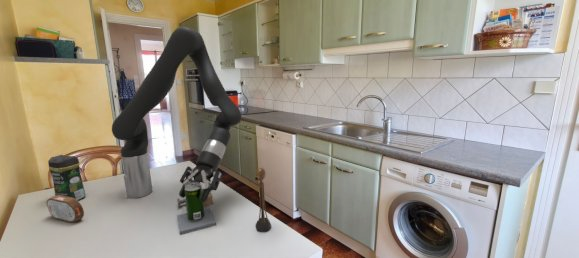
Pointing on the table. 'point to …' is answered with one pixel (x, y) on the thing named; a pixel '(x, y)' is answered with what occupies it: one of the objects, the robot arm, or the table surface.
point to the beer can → (194, 201)
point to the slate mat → (188, 226)
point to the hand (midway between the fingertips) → (191, 199)
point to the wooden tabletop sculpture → (262, 204)
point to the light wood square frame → (207, 202)
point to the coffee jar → (66, 176)
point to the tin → (65, 208)
